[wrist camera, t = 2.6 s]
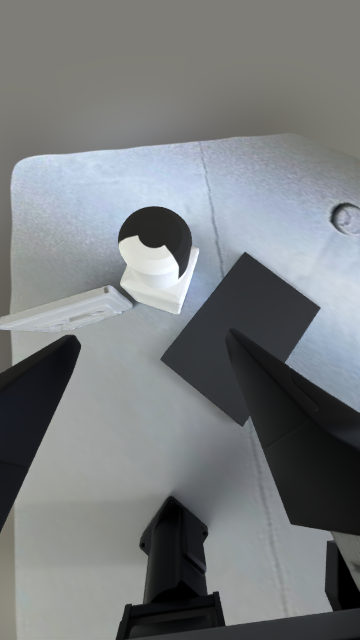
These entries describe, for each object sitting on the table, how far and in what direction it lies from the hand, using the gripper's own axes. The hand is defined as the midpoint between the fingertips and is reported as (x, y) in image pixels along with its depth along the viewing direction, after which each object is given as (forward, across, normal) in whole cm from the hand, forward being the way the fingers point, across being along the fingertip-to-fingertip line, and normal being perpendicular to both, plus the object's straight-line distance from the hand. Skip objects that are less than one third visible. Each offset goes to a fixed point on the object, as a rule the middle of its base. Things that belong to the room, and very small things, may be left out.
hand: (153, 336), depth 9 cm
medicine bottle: (+15, 0, +4) cm, 16 cm away
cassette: (+12, +11, +7) cm, 18 cm away
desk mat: (+10, -12, +9) cm, 18 cm away
